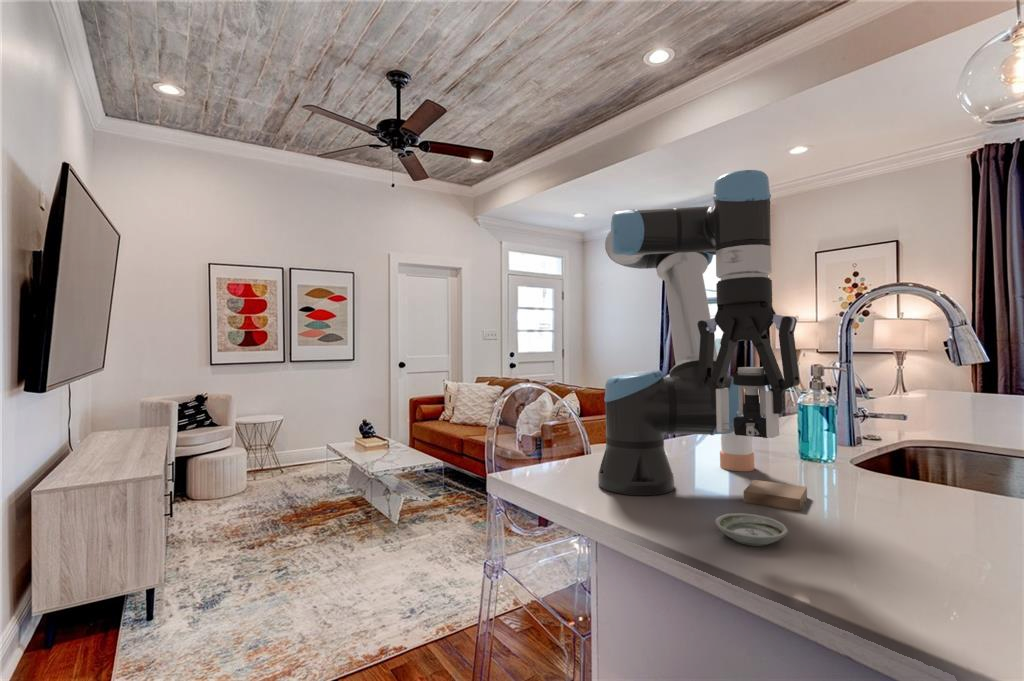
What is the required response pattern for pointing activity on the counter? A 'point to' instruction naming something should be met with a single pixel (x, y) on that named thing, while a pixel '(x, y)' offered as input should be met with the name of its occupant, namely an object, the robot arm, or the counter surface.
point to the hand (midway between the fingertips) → (747, 433)
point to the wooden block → (776, 495)
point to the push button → (750, 402)
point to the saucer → (751, 528)
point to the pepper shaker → (736, 452)
